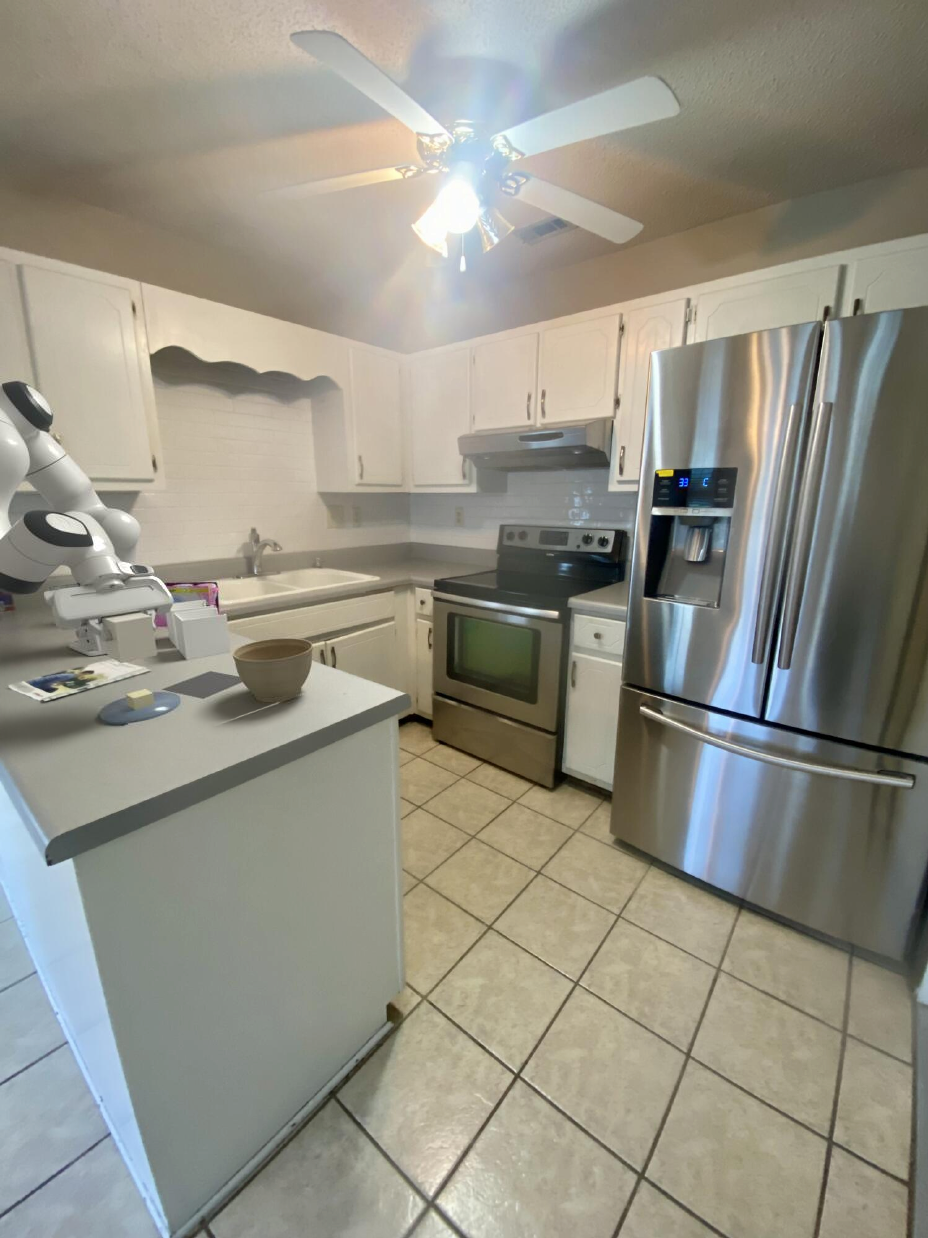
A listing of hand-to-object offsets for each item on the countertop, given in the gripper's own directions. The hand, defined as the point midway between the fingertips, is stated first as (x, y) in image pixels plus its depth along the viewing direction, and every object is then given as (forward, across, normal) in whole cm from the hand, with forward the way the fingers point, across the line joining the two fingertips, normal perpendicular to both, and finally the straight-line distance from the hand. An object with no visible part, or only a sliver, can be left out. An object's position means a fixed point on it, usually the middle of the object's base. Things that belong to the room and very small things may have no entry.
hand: (130, 635), depth 100 cm
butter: (+11, 0, +12) cm, 16 cm away
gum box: (-36, +38, +59) cm, 79 cm away
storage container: (-14, +29, +37) cm, 49 cm away
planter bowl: (+22, +21, +1) cm, 31 cm away
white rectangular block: (+3, 0, +4) cm, 4 cm away
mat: (+9, +15, +14) cm, 22 cm away
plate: (+11, 0, +12) cm, 16 cm away
